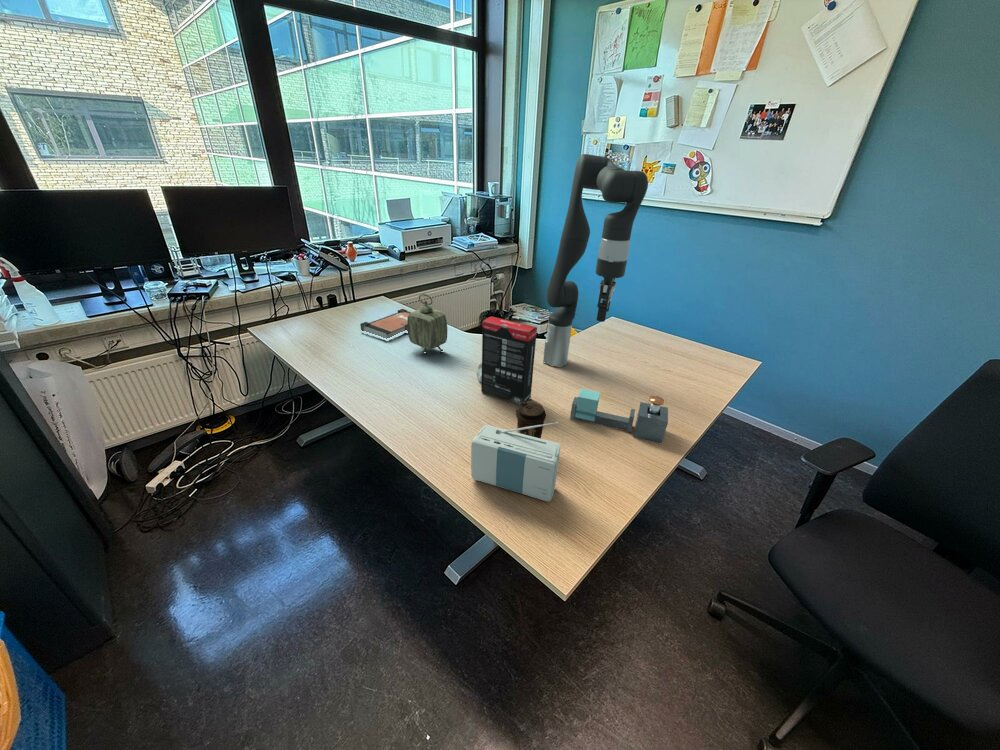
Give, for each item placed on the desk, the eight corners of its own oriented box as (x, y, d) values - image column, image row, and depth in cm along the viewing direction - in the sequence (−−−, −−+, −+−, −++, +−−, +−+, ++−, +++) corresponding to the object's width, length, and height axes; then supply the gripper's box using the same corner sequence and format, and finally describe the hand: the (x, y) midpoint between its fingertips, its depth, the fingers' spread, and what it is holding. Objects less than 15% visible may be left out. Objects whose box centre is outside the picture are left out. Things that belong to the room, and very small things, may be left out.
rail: (569, 419, 126) (572, 403, 123) (572, 412, 130) (574, 396, 127) (630, 433, 121) (634, 417, 118) (631, 425, 125) (635, 409, 122)
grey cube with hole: (633, 437, 119) (639, 415, 115) (635, 423, 126) (640, 401, 122) (661, 443, 117) (668, 421, 113) (661, 428, 123) (667, 407, 120)
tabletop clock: (448, 352, 166) (446, 295, 154) (434, 360, 159) (430, 300, 147) (422, 344, 173) (418, 288, 161) (407, 351, 166) (402, 293, 154)
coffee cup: (512, 436, 117) (514, 399, 111) (539, 435, 118) (543, 399, 112) (515, 455, 110) (518, 417, 104) (545, 454, 111) (549, 416, 104)
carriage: (575, 417, 125) (578, 396, 121) (578, 408, 129) (581, 388, 125) (594, 421, 123) (597, 400, 119) (596, 412, 127) (600, 392, 124)
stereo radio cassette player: (469, 482, 100) (469, 418, 91) (482, 462, 107) (483, 400, 97) (549, 507, 94) (558, 440, 84) (557, 484, 101) (566, 420, 91)
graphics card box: (532, 398, 137) (538, 324, 124) (523, 407, 131) (529, 331, 118) (489, 385, 144) (491, 314, 131) (479, 393, 138) (480, 320, 125)
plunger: (644, 420, 118) (649, 401, 114) (645, 413, 121) (650, 394, 118) (658, 423, 116) (664, 404, 113) (659, 416, 120) (664, 397, 116)
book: (388, 343, 174) (387, 332, 171) (361, 333, 182) (360, 323, 179) (428, 326, 193) (428, 316, 191) (403, 318, 201) (402, 308, 199)
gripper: (601, 250, 109) (593, 306, 117) (594, 260, 98) (585, 322, 105) (629, 253, 107) (618, 310, 115) (625, 264, 95) (613, 326, 103)
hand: (602, 316), depth 110 cm, fingers open, 8 cm apart
